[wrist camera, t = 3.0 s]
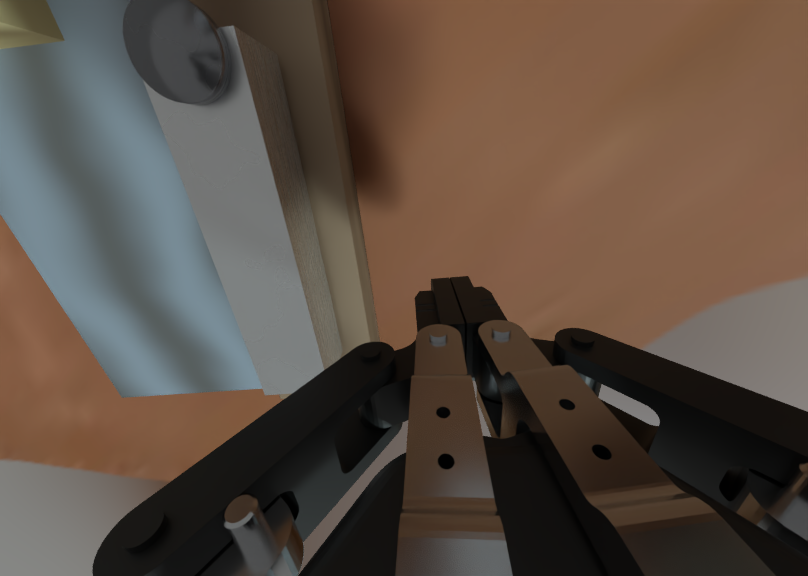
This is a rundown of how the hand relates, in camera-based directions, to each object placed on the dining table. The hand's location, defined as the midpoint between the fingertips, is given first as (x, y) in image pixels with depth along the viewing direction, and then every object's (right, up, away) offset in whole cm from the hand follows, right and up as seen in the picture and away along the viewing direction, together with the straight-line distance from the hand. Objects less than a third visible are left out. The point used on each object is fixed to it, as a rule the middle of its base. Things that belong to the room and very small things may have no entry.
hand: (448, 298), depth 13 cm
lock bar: (-7, +3, +1) cm, 8 cm away
